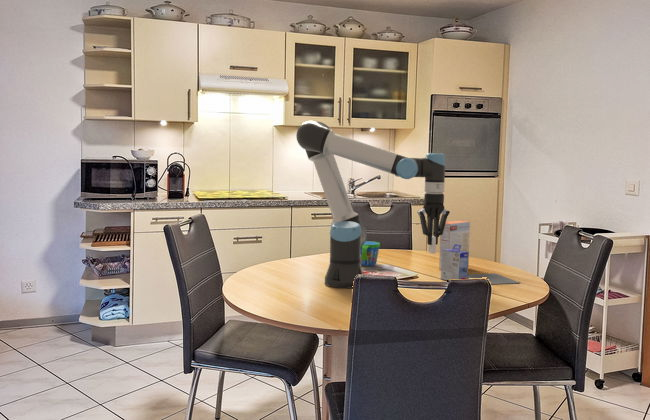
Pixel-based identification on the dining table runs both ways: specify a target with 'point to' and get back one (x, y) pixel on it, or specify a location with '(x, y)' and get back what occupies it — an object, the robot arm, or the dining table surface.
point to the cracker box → (455, 237)
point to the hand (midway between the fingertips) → (432, 252)
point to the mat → (494, 278)
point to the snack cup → (369, 253)
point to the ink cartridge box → (454, 263)
